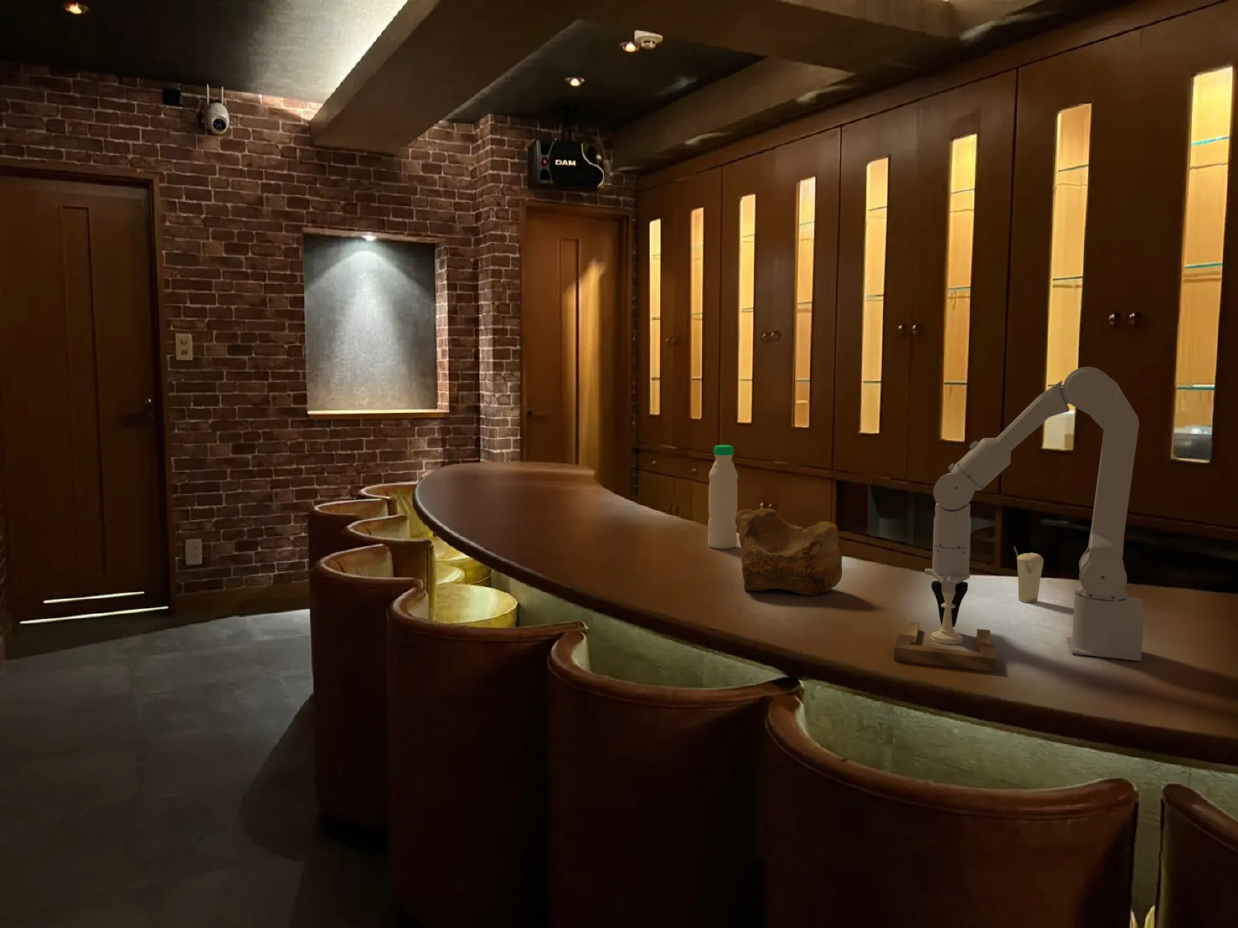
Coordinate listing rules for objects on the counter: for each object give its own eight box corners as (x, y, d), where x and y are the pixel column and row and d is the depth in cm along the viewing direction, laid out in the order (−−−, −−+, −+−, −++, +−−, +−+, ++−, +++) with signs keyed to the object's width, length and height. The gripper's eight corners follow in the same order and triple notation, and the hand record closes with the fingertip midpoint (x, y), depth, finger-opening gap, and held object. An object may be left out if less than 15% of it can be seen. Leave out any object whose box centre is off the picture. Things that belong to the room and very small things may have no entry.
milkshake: (1016, 595, 173) (1018, 544, 172) (1045, 600, 169) (1047, 548, 168) (1006, 599, 170) (1009, 548, 169) (1035, 605, 166) (1038, 552, 165)
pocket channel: (989, 637, 146) (990, 630, 146) (990, 651, 139) (990, 643, 139) (906, 628, 151) (906, 621, 151) (902, 641, 144) (902, 634, 144)
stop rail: (993, 657, 136) (994, 644, 136) (994, 672, 130) (995, 658, 129) (897, 646, 141) (898, 634, 141) (893, 660, 135) (894, 647, 135)
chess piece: (937, 633, 149) (939, 574, 147) (967, 639, 145) (969, 578, 144) (925, 640, 145) (928, 579, 144) (956, 646, 142) (959, 584, 141)
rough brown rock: (702, 590, 180) (702, 518, 177) (747, 569, 193) (747, 502, 190) (805, 615, 165) (806, 536, 162) (847, 590, 178) (849, 517, 175)
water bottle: (741, 545, 222) (743, 445, 219) (729, 550, 216) (730, 447, 213) (715, 542, 225) (717, 443, 223) (702, 547, 219) (704, 445, 217)
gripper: (928, 536, 156) (925, 612, 158) (923, 551, 143) (919, 634, 144) (971, 539, 154) (968, 616, 155) (970, 555, 140) (966, 639, 142)
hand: (948, 625), depth 149 cm, fingers closed
